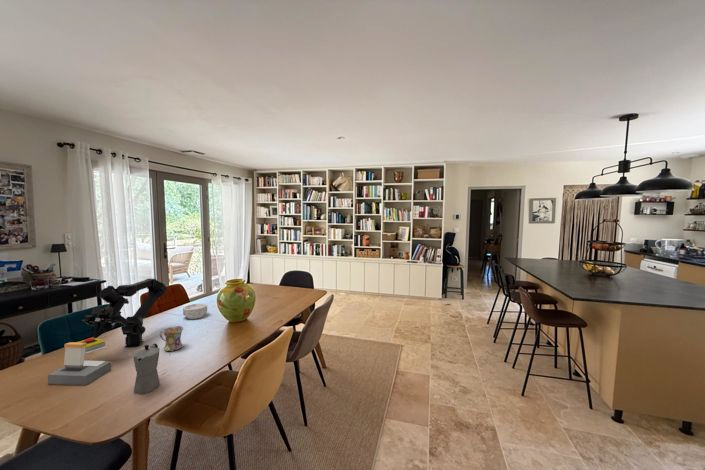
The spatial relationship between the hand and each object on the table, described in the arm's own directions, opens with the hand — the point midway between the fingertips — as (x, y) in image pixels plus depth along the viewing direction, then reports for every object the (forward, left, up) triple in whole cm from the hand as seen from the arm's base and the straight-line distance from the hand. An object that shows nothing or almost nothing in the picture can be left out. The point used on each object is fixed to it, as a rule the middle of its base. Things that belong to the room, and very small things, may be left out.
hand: (94, 338), depth 131 cm
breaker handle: (+3, +9, -8) cm, 13 cm away
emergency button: (+15, -24, -14) cm, 31 cm away
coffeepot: (-31, +22, -14) cm, 41 cm away
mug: (-27, -14, -14) cm, 33 cm away
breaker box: (0, +9, -14) cm, 16 cm away
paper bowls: (-25, -65, -14) cm, 71 cm away
